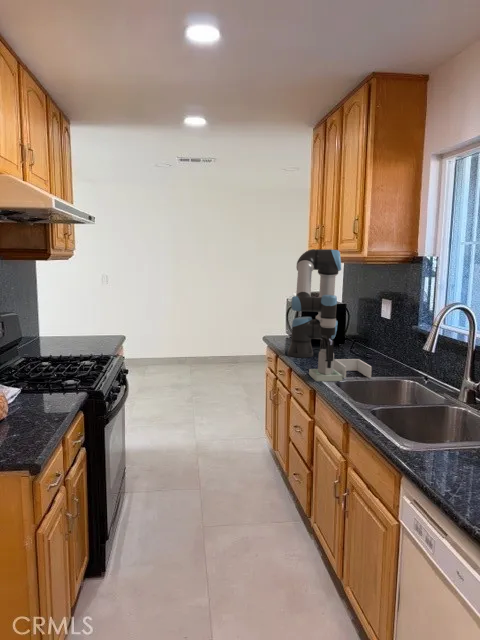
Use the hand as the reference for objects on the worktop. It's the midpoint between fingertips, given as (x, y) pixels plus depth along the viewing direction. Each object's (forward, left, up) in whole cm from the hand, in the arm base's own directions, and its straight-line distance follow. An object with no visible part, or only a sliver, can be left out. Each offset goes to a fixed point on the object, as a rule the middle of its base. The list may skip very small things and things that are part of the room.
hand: (325, 372), depth 236 cm
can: (0, 0, -1) cm, 1 cm away
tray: (0, 0, -3) cm, 3 cm away
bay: (-6, +16, -3) cm, 17 cm away
